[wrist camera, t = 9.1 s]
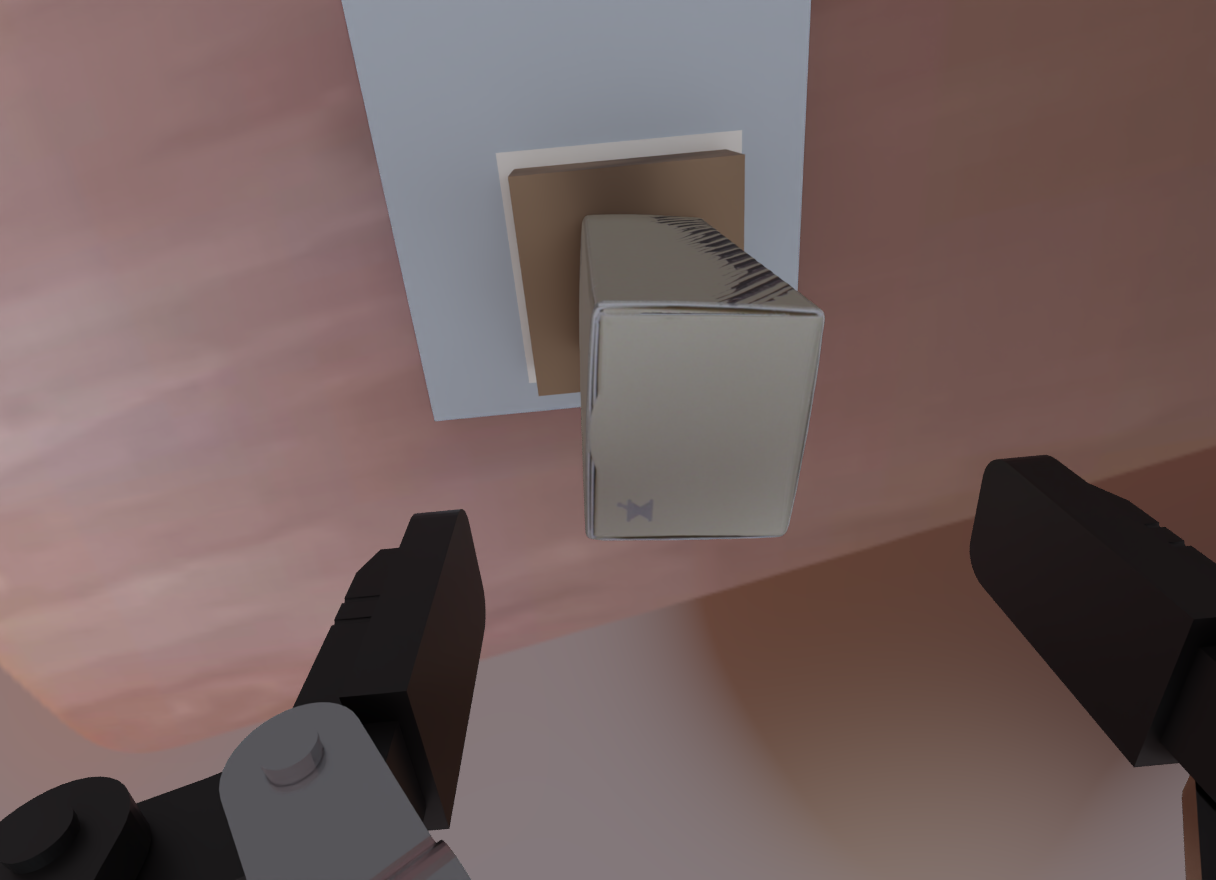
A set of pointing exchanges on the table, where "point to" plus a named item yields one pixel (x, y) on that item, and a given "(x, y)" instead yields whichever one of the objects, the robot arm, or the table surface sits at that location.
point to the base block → (570, 192)
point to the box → (689, 383)
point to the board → (559, 145)
